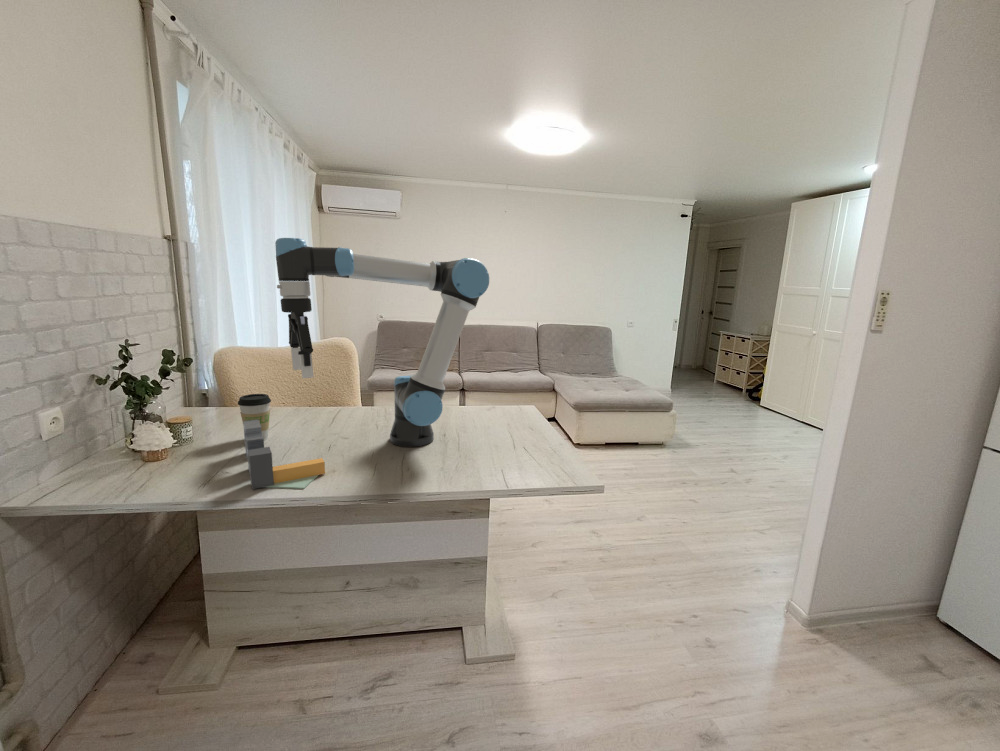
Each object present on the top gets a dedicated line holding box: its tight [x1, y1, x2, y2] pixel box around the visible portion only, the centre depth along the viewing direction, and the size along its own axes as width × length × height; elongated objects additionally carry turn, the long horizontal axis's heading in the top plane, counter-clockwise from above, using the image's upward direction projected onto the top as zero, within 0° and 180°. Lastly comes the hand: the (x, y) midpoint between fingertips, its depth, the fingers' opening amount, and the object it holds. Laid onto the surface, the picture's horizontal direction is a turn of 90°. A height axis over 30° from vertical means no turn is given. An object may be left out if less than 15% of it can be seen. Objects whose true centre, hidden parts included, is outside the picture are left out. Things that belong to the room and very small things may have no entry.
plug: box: [248, 446, 326, 490], centre depth 117 cm, size 18×5×9 cm, turn 124°
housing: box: [242, 419, 265, 475], centre depth 127 cm, size 4×20×12 cm, turn 33°
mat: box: [265, 475, 319, 490], centre depth 118 cm, size 13×10×1 cm
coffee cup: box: [237, 393, 272, 441], centre depth 146 cm, size 10×10×15 cm
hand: (302, 373), depth 122 cm, fingers open, 13 cm apart
